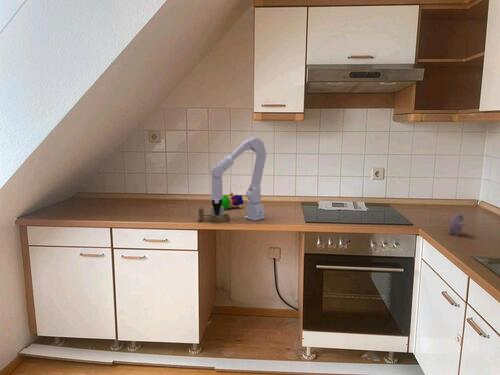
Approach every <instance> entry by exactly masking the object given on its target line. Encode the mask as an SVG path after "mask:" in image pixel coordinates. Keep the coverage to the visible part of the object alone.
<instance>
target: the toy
mask: <svg viewBox="0 0 500 375" xmlns="http://www.w3.org/2000/svg"><path fill="white" fill-rule="evenodd" d="M222 197H223V199H222V205H221V207H224V210H228V209H229V208H231V206H236V207H237V206H238V208H239V209H243V208H244V206H243V205H244V200H243V195H242V194H239V195H238V194H234V193H233V192H230V193H228V194H227V195H225V194H224V195H222Z"/></svg>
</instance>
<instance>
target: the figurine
mask: <svg viewBox="0 0 500 375" xmlns="http://www.w3.org/2000/svg"><path fill="white" fill-rule="evenodd" d="M464 219H465V216H464V215H463V213H460V212H456V213H455V214H454V215H453V216H452V217H451V218H450V219H449V222H448V223H449V224H448V225H449V228H450V229H448V230H447V233H448V234H454V235H455V236H457V237H459V234H460V232H461V231H462V230H463V227H466V223H465V222H463V221H464Z"/></svg>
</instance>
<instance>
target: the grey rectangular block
mask: <svg viewBox="0 0 500 375" xmlns="http://www.w3.org/2000/svg"><path fill="white" fill-rule="evenodd" d="M210 214H211V216H224V214H225V208H224V207H222V206H221V207H220V213H219V215H215V212H214V208H213V206H211V207H210Z"/></svg>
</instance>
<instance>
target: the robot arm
mask: <svg viewBox="0 0 500 375" xmlns="http://www.w3.org/2000/svg"><path fill="white" fill-rule="evenodd" d="M250 150H252V151H253V152H254V154H255V155H256V156H255V161H254V165H253V166H254V167H253V171H252V177H251V182H250V185H249V186H248V189H247V191H246V193H245V195H246V198H247V201H246V215H245V216H243V218H244V219H248V220H252V221H259V220H263V219H266V216H265V205H264V204H263V203H261V199H262V195H261V194H262V193H261V191H262V188H261V184H262V180H263V179H262V178H263V173H264V168H265V163H266V159H267V151H266V148H265V144H264V142H263V140H262V139H261V138H260V137H258V136H256V137H255V136H249V137H248V138H247V139H245V140H244V141H243V142H242V143H240V145H238V147H237V148H236V149H235V150H234V151H233V152H232V153H230V155H225V156H222V157H221V158H222V159H221V160H220V161H219V162H217V163H215V165H213V166H212V167H211V170H210V174H211V180H210V182H211V183H210V184H211V186H210V187H211V196H209V199H211V205H212V207H213V208H214V212H215V215H219V213H220V207H222V206H221V205H222V199H223V175H224V173H225V172H227V170H229V168H230V167H232V165H234V163H235V162H234V161H235V160H236V159H237V158H238V157H240V156H241V155H242V154H243V153H244V152H245V151H250Z"/></svg>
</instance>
